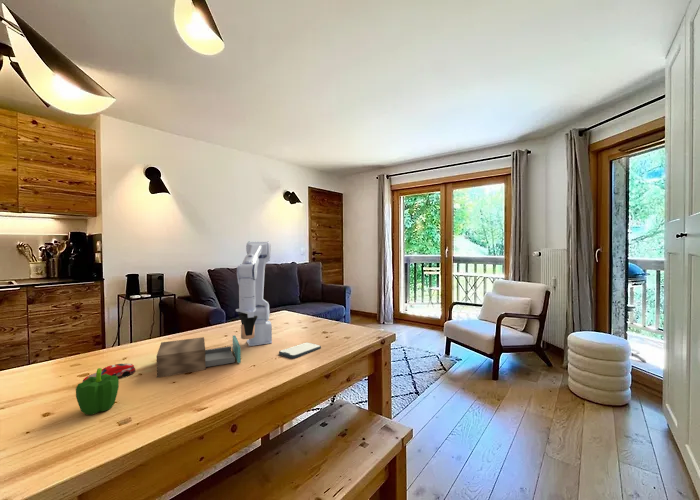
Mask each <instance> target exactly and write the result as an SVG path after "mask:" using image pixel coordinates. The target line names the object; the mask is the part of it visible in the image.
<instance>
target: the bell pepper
mask: <svg viewBox="0 0 700 500" xmlns="http://www.w3.org/2000/svg"><path fill="white" fill-rule="evenodd" d="M102 369H103V368H101V367H98V368H96V372H95V373H96V377H89V378H88V379H86V380H85V381H84V382H83V381H82V382H80V383H77V386H76V388H75V398H76V401H77V404H78V407H79V409H80V411H81V412H82V413H83V414H84V415H86V416H91V415H95V414H98V413H99V412H105V411H109V410H110V409H112V407H114V405H115V402H116V399H117V395H118V391H119V385H120V381H119V379H120V378H118V377H117V376H111V375H108V374H103V375H101V371H102Z"/></svg>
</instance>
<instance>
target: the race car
mask: <svg viewBox="0 0 700 500" xmlns="http://www.w3.org/2000/svg"><path fill="white" fill-rule="evenodd" d="M135 372H136V367H135V365H134V364H133V363H116V364H115V363H114V364H110V365H107V366H105V367H103V368H102V371H101V375H103V374H108V375H111V376H117V377H118V379H122V378H126V376H127V377H129V376H130V375H133V374H135ZM89 377H96V372H95V373H91V374H89V375H87V376H85V377H84V378H83V380H82V382H84V381H85V380H86V379H88V378H89Z"/></svg>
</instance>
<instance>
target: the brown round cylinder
mask: <svg viewBox="0 0 700 500" xmlns="http://www.w3.org/2000/svg"><path fill="white" fill-rule="evenodd" d="M254 337H255V324H254V328H253V333H252V335H249V336H246V334H245V329H244V324H242V323H241V325H240V339H242V340H249V339H252V338H254Z"/></svg>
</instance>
